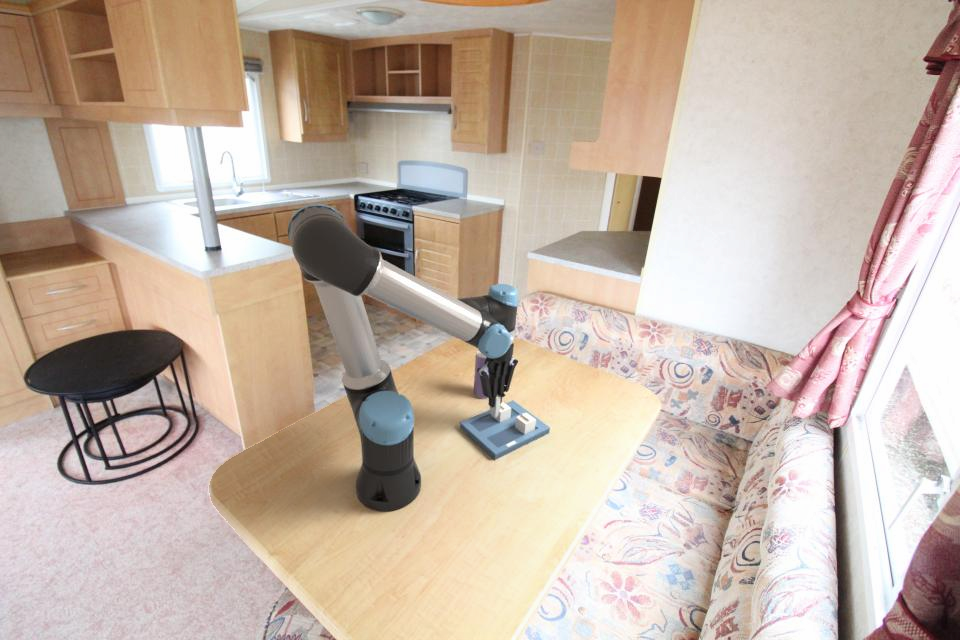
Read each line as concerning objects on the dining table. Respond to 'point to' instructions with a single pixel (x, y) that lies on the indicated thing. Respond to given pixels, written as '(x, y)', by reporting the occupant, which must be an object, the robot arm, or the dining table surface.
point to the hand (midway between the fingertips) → (494, 414)
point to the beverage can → (477, 381)
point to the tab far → (503, 412)
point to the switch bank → (501, 431)
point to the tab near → (525, 423)
